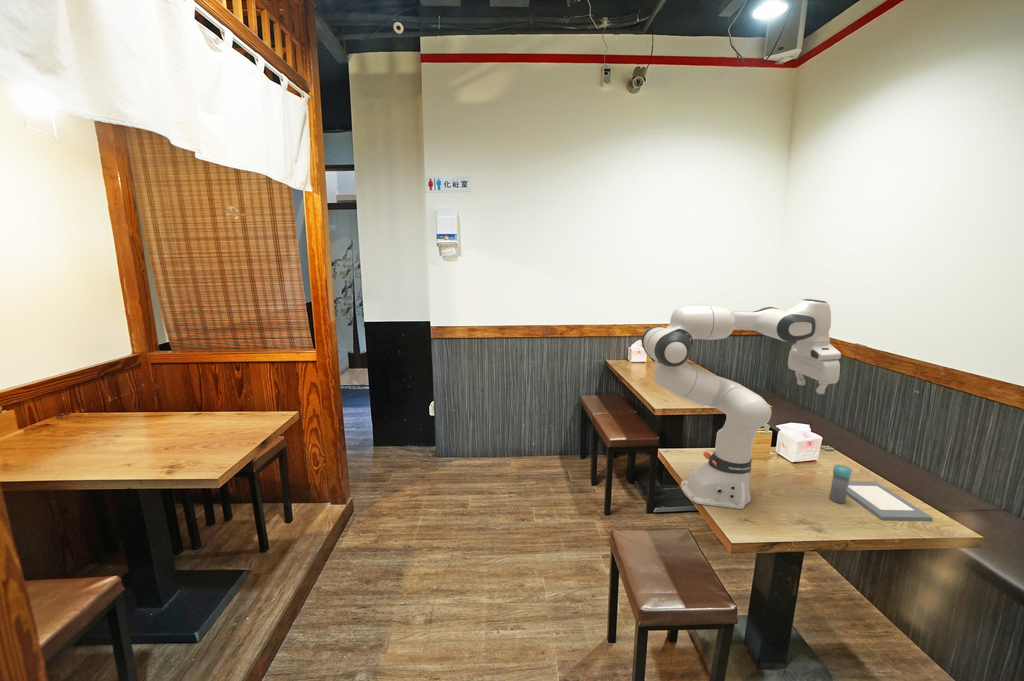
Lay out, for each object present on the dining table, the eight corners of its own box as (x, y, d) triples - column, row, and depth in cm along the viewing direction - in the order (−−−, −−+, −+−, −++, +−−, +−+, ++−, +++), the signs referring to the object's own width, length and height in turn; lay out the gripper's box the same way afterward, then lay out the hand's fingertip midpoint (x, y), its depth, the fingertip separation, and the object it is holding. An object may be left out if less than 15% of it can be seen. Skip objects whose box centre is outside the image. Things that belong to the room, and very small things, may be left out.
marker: (835, 504, 146) (840, 471, 143) (825, 496, 150) (830, 464, 148) (849, 504, 146) (855, 471, 143) (839, 496, 150) (844, 464, 148)
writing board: (881, 519, 137) (882, 515, 137) (831, 483, 159) (832, 480, 159) (931, 520, 137) (932, 516, 137) (875, 484, 159) (876, 481, 158)
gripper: (783, 342, 151) (781, 380, 154) (824, 356, 131) (821, 399, 134) (801, 341, 151) (799, 379, 154) (845, 354, 131) (842, 398, 134)
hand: (810, 388), depth 144 cm, fingers open, 8 cm apart
